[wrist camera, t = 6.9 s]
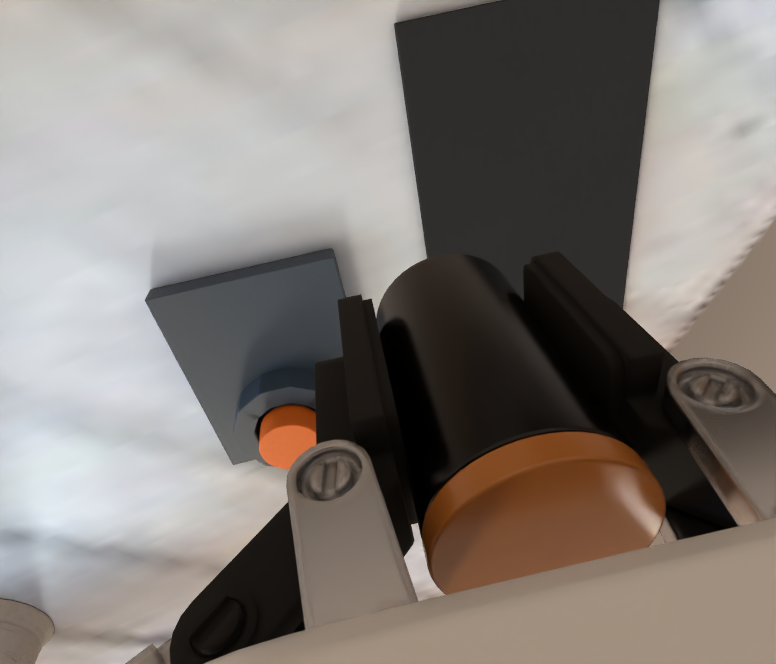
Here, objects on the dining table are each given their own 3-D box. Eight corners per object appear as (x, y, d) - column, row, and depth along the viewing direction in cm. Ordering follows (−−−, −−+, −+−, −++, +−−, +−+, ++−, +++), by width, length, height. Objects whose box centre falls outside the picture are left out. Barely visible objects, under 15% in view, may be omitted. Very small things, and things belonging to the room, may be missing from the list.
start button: (252, 412, 28) (249, 433, 27) (313, 397, 29) (314, 418, 27) (271, 453, 30) (270, 475, 29) (327, 439, 31) (329, 461, 29)
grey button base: (149, 289, 26) (134, 318, 24) (332, 247, 26) (336, 272, 24) (234, 451, 33) (229, 487, 31) (377, 417, 34) (383, 450, 31)
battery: (363, 271, 11) (411, 495, 6) (512, 238, 11) (687, 432, 6) (389, 386, 13) (442, 630, 8) (515, 357, 13) (651, 582, 8)
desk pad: (393, 23, 21) (395, 23, 21) (658, -34, 22) (664, -34, 21) (443, 373, 33) (444, 377, 32) (616, 332, 33) (619, 335, 33)
